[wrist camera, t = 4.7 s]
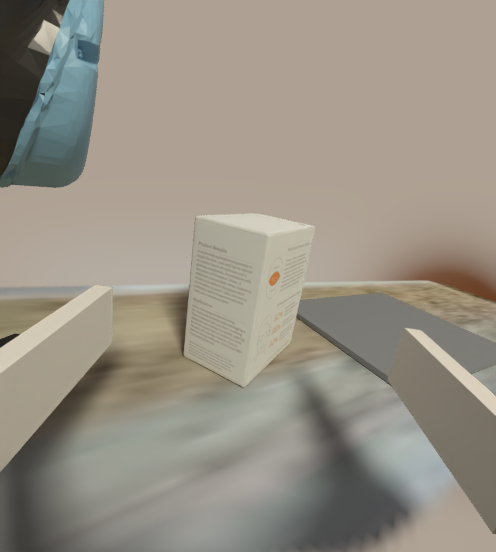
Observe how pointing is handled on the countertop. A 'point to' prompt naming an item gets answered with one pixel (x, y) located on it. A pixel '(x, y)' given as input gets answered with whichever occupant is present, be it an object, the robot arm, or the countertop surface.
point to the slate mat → (389, 331)
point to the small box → (244, 291)
